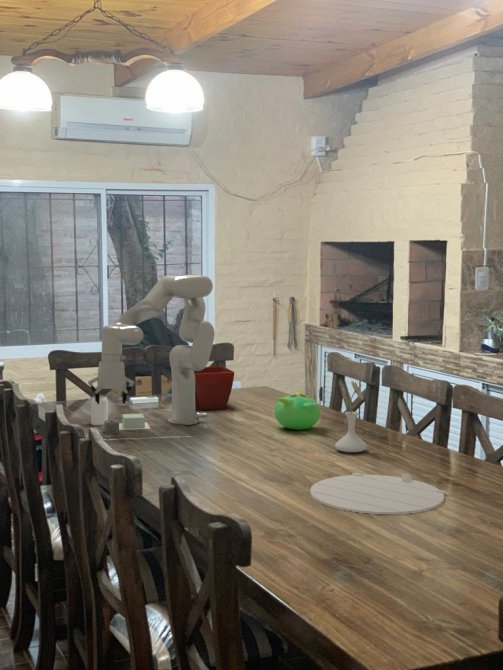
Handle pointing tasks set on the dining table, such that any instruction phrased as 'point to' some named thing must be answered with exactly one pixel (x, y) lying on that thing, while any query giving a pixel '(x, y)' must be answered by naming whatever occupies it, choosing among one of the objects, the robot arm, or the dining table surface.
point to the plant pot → (213, 387)
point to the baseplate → (133, 428)
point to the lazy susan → (377, 494)
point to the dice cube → (111, 426)
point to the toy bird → (297, 411)
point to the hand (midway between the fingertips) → (110, 403)
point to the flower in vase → (352, 429)
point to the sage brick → (133, 420)
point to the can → (99, 410)
